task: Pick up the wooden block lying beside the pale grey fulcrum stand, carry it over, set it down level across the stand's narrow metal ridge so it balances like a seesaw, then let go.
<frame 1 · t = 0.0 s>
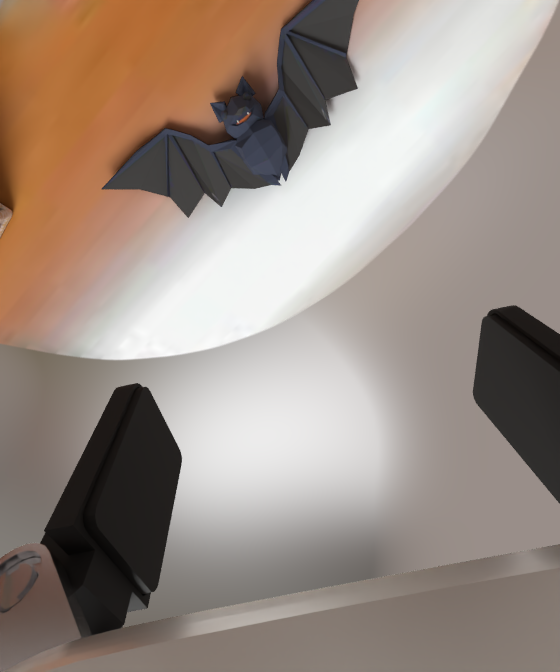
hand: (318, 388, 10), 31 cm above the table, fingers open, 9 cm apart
decorative bat: (253, 134, 34), on the table, touching fulcrum stand
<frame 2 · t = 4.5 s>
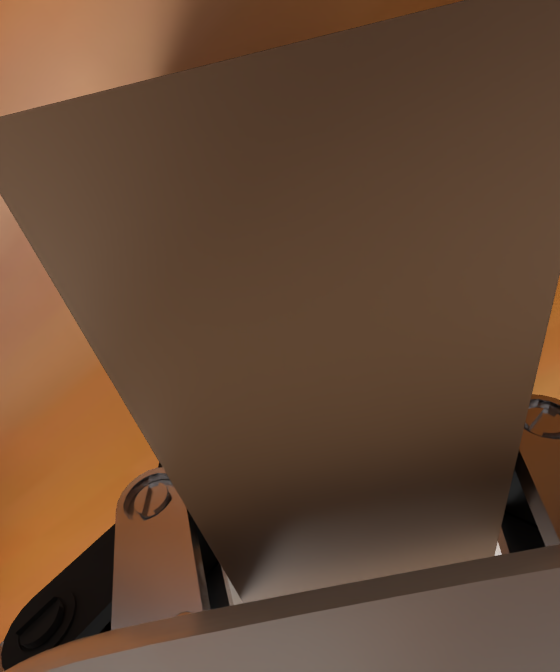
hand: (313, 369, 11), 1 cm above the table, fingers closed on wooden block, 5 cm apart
wooden block: (309, 354, 11), on the table, touching gripper
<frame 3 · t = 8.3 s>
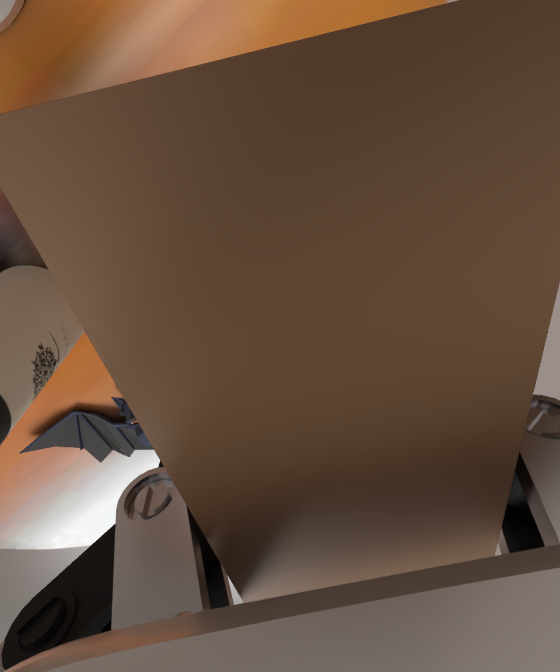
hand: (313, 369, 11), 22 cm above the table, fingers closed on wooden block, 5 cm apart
wooden block: (309, 354, 11), point 21 cm above the table, touching gripper
travel mug: (44, 305, 32), on the table
decorative bat: (154, 405, 39), on the table
when the fingers open (11 cm above the table, at t = 12.2 s): wooden block stays where it is, resting on fulcrum stand.
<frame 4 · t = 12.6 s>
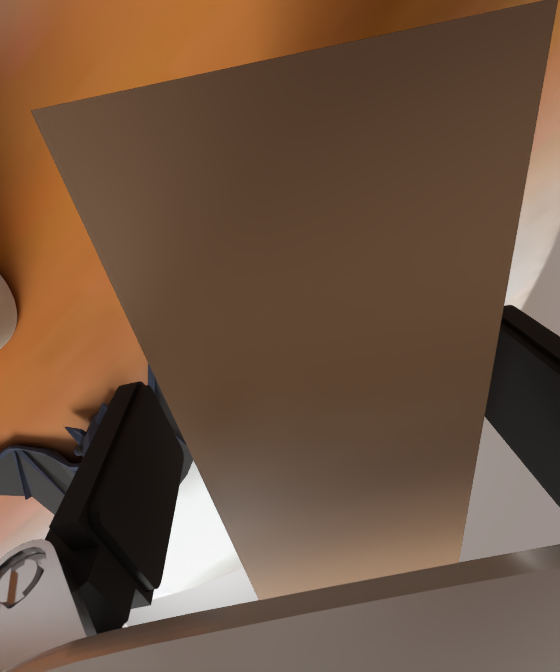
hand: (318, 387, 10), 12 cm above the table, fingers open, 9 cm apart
wooden block: (304, 340, 12), point 9 cm above the table, touching fulcrum stand
decorative bat: (132, 436, 27), on the table, touching fulcrum stand
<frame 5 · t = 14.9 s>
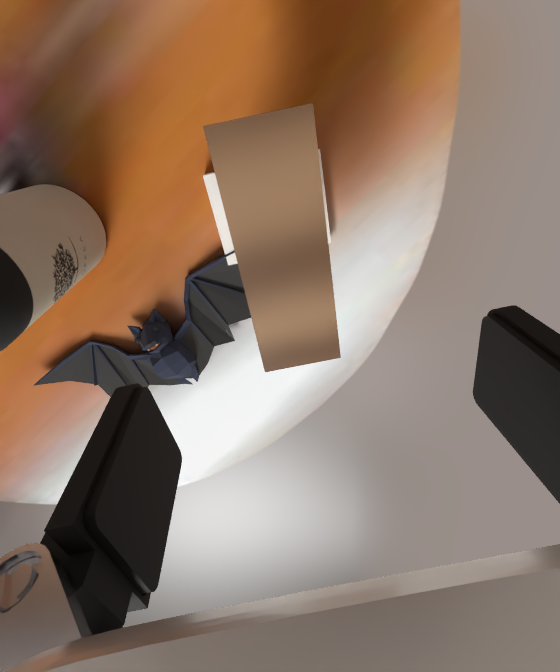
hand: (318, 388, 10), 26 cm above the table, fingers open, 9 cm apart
wooden block: (276, 234, 24), point 9 cm above the table, touching fulcrum stand
fulcrum stand: (270, 208, 32), on the table
travel mug: (62, 230, 32), on the table
decorative bat: (169, 339, 39), on the table, touching fulcrum stand
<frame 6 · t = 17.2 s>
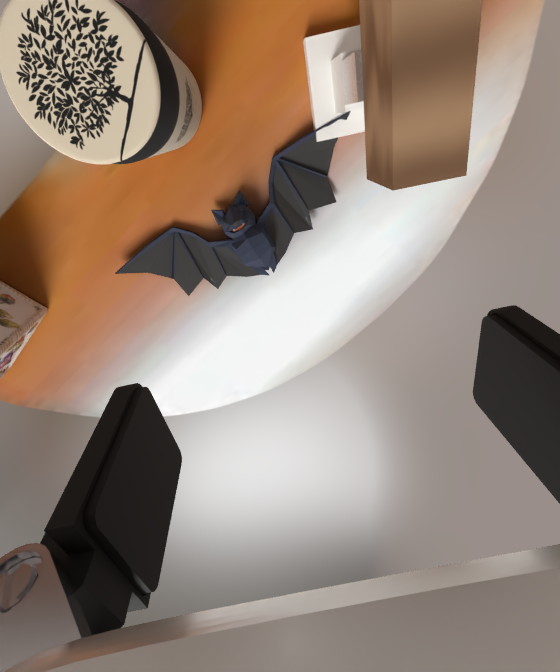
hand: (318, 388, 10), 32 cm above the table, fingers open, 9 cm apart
wooden block: (396, 68, 25), point 9 cm above the table, touching fulcrum stand
fulcrum stand: (361, 82, 33), on the table
travel mug: (159, 102, 33), on the table
decorative bat: (247, 231, 40), on the table, touching fulcrum stand
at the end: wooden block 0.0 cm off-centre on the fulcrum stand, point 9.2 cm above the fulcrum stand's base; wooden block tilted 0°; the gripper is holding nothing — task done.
